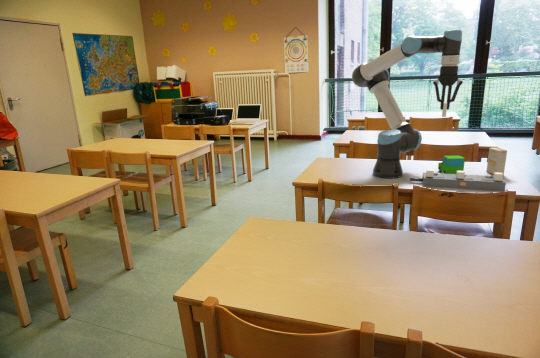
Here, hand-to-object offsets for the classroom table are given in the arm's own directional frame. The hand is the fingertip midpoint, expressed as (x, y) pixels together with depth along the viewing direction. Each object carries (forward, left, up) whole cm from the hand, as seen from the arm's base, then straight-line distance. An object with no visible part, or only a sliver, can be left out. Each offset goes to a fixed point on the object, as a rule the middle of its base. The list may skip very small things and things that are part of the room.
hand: (443, 116), depth 177 cm
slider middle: (+8, -12, -28) cm, 31 cm away
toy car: (+6, +11, -32) cm, 34 cm away
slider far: (+24, -12, -28) cm, 38 cm away
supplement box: (+28, +16, -32) cm, 45 cm away
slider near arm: (-5, -12, -28) cm, 30 cm away
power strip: (+7, -10, -32) cm, 34 cm away
